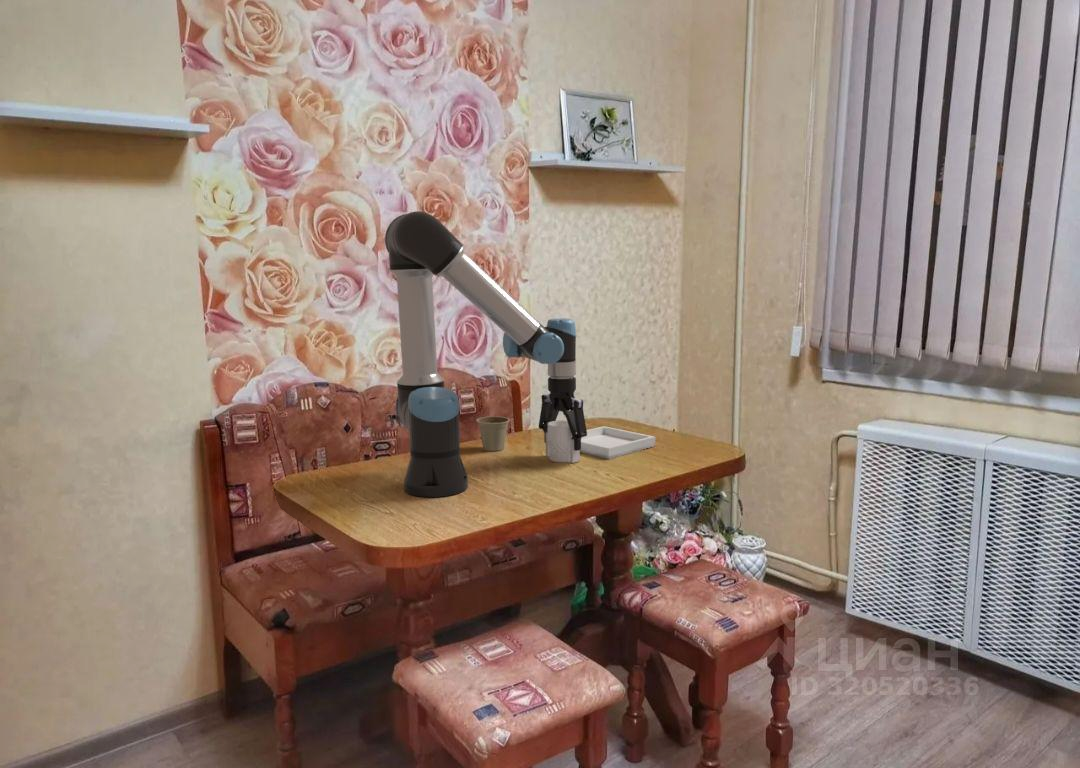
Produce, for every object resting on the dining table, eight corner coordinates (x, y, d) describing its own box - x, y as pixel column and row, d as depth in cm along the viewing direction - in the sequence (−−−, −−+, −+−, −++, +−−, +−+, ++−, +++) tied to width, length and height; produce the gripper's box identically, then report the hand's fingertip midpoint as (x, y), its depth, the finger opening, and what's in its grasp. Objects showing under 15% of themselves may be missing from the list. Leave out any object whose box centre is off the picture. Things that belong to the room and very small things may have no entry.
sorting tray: (608, 459, 202) (608, 448, 202) (557, 446, 217) (557, 436, 217) (655, 446, 216) (655, 436, 215) (604, 435, 230) (604, 426, 230)
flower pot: (509, 453, 210) (508, 423, 209) (475, 453, 210) (475, 423, 209) (511, 445, 219) (510, 416, 218) (479, 445, 220) (478, 416, 218)
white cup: (561, 464, 198) (561, 427, 196) (541, 459, 203) (541, 423, 202) (582, 459, 203) (582, 423, 201) (562, 454, 208) (562, 419, 207)
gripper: (601, 379, 194) (601, 463, 198) (544, 371, 210) (545, 449, 213) (581, 382, 189) (581, 468, 193) (524, 374, 205) (525, 453, 208)
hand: (562, 458), depth 203 cm, fingers open, 9 cm apart
